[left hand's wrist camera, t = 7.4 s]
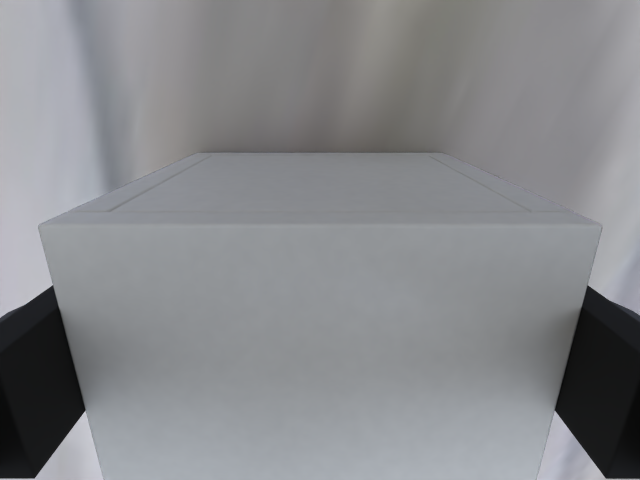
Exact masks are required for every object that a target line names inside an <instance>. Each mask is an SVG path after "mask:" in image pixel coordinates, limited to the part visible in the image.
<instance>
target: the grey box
mask: <svg viewBox="0 0 640 480" xmlns="http://www.w3.org/2000/svg"><path fill="white" fill-rule="evenodd" d="M38 229H39V233H40V237H41V240H42V244H43V248H44V252H45V256H46V260H47V264H48V267H49V271H50V275H51V279H52V283H53V287H54V290H55V294H56V298H57V302H58V306H59V310H60V313H61V317H62V321H63V325H64V329H65V333H66V337H67V340H68V344H69V348H70V352H71V356H72V360H73V363H74V367H75V371H76V375H77V379H78V383H79V386H80V390H81V394H82V398H83V402H84V406H85V410H86V413H87V417H88V421H89V425H90V429H91V433H92V436H93V440H94V444H95V448H96V452H97V456H98V459H99V463H100V467H101V471H102V475H103V479H104V480H537V476H538V472H539V468H540V465H541V461H542V457H543V453H544V449H545V445H546V442H547V438H548V434H549V430H550V426H551V422H552V419H553V415H554V411H555V407H556V403H557V400H558V396H559V392H560V388H561V384H562V380H563V377H564V373H565V369H566V365H567V361H568V357H569V354H570V350H571V346H572V342H573V338H574V335H575V331H576V327H577V323H578V319H579V315H580V312H581V308H582V304H583V300H584V296H585V292H586V289H587V285H588V281H589V277H590V273H591V269H592V266H593V262H594V258H595V254H596V250H597V247H598V243H599V239H600V235H601V231H602V225H601V224H599V223H597V222H595V221H593V220H590V219H588V218H586V217H584V216H582V215H579V214H577V213H575V212H574V211H572V210H570V209H568V208H565V207H563V206H561V205H559V204H557V203H554V202H552V201H550V200H548V199H545V198H543V197H541V196H539V195H537V194H534V193H532V192H530V191H528V190H525V189H523V188H521V187H519V186H517V185H514V184H512V183H510V182H508V181H506V180H503V179H501V178H499V177H497V176H494V175H492V174H490V173H488V172H486V171H483V170H481V169H479V168H477V167H474V166H472V165H470V164H468V163H466V162H463V161H461V160H459V159H457V158H454V157H452V156H449V155H447V154H445V153H195V154H193V155H191V156H188V157H186V158H184V159H182V160H180V161H177V162H175V163H173V164H171V165H169V166H166V167H164V168H162V169H160V170H158V171H155V172H153V173H151V174H149V175H147V176H144V177H142V178H140V179H138V180H136V181H133V182H131V183H129V184H127V185H125V186H122V187H120V188H118V189H116V190H114V191H111V192H109V193H107V194H105V195H103V196H100V197H98V198H96V199H94V200H92V201H89V202H87V203H85V204H83V205H81V206H78V207H76V208H74V209H72V210H70V211H68V212H65V213H63V214H61V215H59V216H57V217H54V218H52V219H50V220H48V221H46V222H43V223H41V224H39V227H38Z"/></svg>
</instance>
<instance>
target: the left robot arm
mask: <svg viewBox="0 0 640 480" xmlns="http://www.w3.org/2000/svg"><path fill="white" fill-rule="evenodd" d="M555 411H556V412H557V414H558V415H559V416H560V418H561V419H562V420H563V422H564V423H565V424H566V426H567V427H568V428H569V430H570V431H571V432H572V434H573V435H574V436H575V438H576V439H577V440H578V442H579V443H580V444H581V446H582V447H583V448H584V450H585V451H586V452H587V454H588V455H589V456H590V458H591V459H592V460H593V462H594V463H595V464H596V466H597V467H598V468H599V470H600V471H601V472H602V474H603V475H604V476H605V478H606V479H640V316H639V315H638V314H636V313H635V312H633V311H632V310H629V309H627V308H625V307H623V306H620V305H618V304H616V303H614V302H611V301H609V300H608V299H606V298H605V297H603V296H602V295H601V294H599V293H598V292H596V291H595V290H593V289H592V288H591V287H589V286H588V285H587V289H586V292H585V296H584V300H583V304H582V308H581V312H580V315H579V319H578V323H577V327H576V331H575V335H574V338H573V342H572V346H571V350H570V354H569V357H568V361H567V365H566V369H565V373H564V377H563V380H562V384H561V388H560V392H559V396H558V400H557V403H556V407H555ZM84 412H85V406H84V402H83V398H82V394H81V390H80V386H79V383H78V379H77V375H76V371H75V367H74V363H73V360H72V356H71V352H70V348H69V344H68V340H67V337H66V333H65V329H64V325H63V321H62V317H61V313H60V310H59V306H58V302H57V298H56V294H55V290H54V287H53V286H51V287H50V288H48V289H47V290H46V291H44V292H43V293H41V294H40V295H38V296H37V297H36V298H34V299H33V300H31V301H30V302H29V303H27V304H26V305H24V306H22V307H19V308H17V309H15V310H13V311H10V312H8V313H7V314H5V315H4V316H2V317H1V318H0V478H35V477H36V476H37V474H38V473H39V472H40V470H41V469H42V468H43V466H44V465H45V464H46V462H47V461H48V460H49V458H50V457H51V456H52V454H53V453H54V452H55V450H56V449H57V448H58V446H59V445H60V444H61V442H62V441H63V440H64V438H65V437H66V436H67V434H68V433H69V432H70V430H71V429H72V428H73V426H74V425H75V424H76V422H77V421H78V420H79V418H80V417H81V416H82V414H83V413H84Z"/></svg>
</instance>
